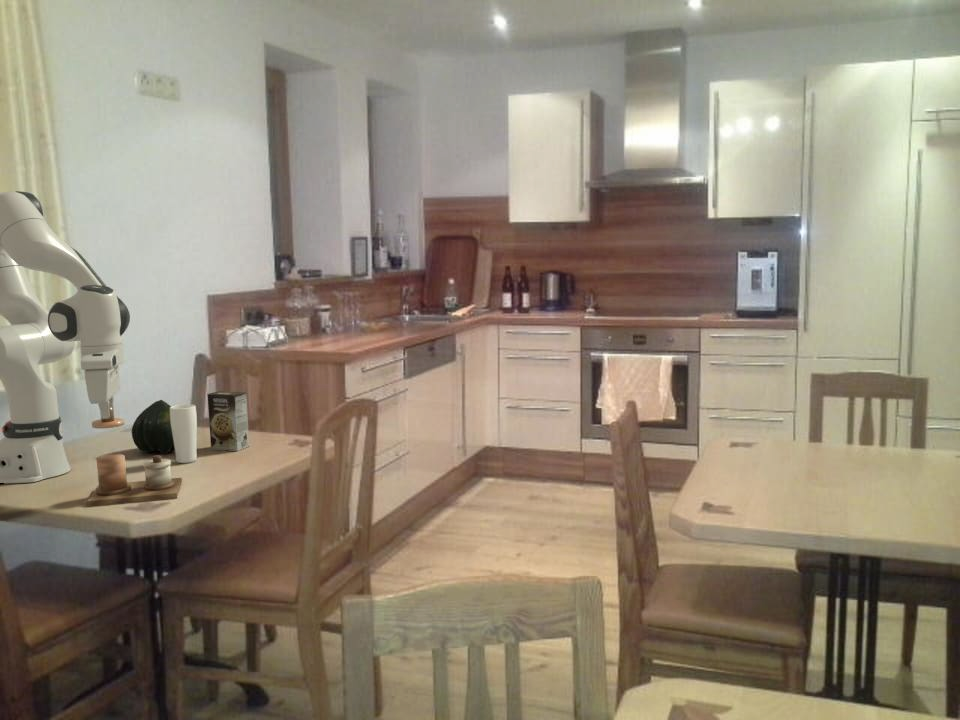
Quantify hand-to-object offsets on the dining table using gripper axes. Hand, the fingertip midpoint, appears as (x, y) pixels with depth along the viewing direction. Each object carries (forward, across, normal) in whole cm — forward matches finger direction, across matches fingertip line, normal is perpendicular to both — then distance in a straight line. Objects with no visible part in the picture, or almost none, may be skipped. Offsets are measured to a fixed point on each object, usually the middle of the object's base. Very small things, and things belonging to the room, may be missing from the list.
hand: (107, 416), depth 198 cm
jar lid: (+2, 0, 0) cm, 2 cm away
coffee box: (+19, -41, +25) cm, 52 cm away
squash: (+19, -45, +6) cm, 49 cm away
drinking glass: (+19, -29, +14) cm, 37 cm away
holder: (+19, 0, +5) cm, 19 cm away
